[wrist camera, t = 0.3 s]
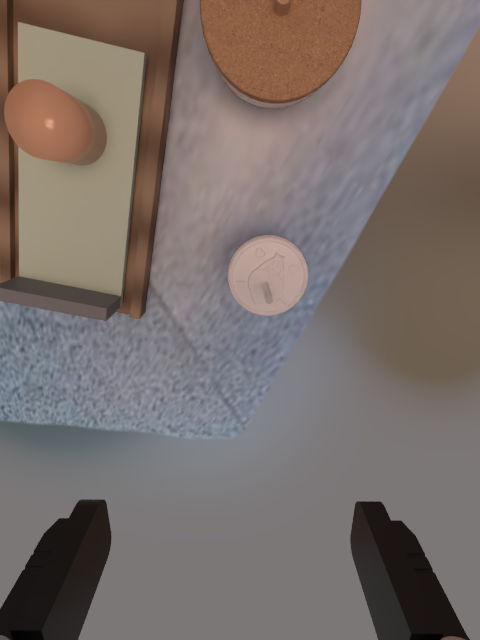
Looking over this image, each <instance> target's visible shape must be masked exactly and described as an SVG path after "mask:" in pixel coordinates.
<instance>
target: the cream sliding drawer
mask: <svg viewBox="0 0 480 640" xmlns="http://www.w3.org/2000/svg"><path fill="white" fill-rule="evenodd" d="M146 62H147V56H146V54H145V53H143V52H139V51H135V50H131V49H127V48H123V47H118V46H114V45H110V44H106V43H102V42H98V41H94V40H90V39H86V38H82V37H78V36H74V35H69V34H65V33H61V32H57V31H53V30H49V29H45V28H41V27H37V26H33V25H29V24H25V23H20V22H18V83H20V82H22V81H24V80H28V79H39V80H43V81H46V82H49V83H51V84H53V85H54V86H56V87H58V88H60V89H61V90H63V91H65V92H66V93H68V94H70V95H72V96H73V97H75V98H77V99H79V100H80V101H82V102H84V103H86V104H87V105H89V106H90V107H92V108H93V109H94V110H95V111H96V112H97V113H98V114H99V116H100V117H101V119H102V121H103V123H104V125H105V129H106V134H107V142H106V147H105V150H104V152H103V154H102V155H101V157H100V158H99V159H98V160H97V161H95V162H94V163H92V164H89V165H74V164H68V163H62V162H56V161H50V160H44V159H39V158H36V157H33V156H31V155H29V154H28V153H26V152H25V151H23V150H22V149H21V148H20V147H19V146H18V166H19V276H18V277H16V278H13V279H10V280H8V281H5V282H2V283H0V301H4V302H10V303H15V304H20V305H25V306H31V307H36V308H41V309H46V310H52V311H57V312H62V313H67V314H72V315H78V316H83V317H88V318H93V319H99V320H104V321H106V320H107V319H108V318H109V317H110V316H111V315H112V314H113V313H115V312H116V311H117V310H118V309H119V308H120V307H121V306H122V304H123V294H124V284H125V274H126V264H127V254H128V243H129V233H130V223H131V213H132V203H133V193H134V183H135V173H136V163H137V153H138V143H139V133H140V123H141V113H142V103H143V93H144V83H145V72H146Z"/></svg>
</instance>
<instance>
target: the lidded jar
mask: <svg viewBox="0 0 480 640" xmlns="http://www.w3.org/2000/svg"><path fill="white" fill-rule="evenodd" d="M200 10H201V22H202V28H203V34H204V38H205V41H206V44H207V47H208V51H209V53H210V55H211V57H212V60H213V62H214V64H215V66H216V68H217V71H218V72H219V74H220V75H221V77H222V79H223V80H224V82H225V83H226V84H227V85H228V87H229V88H230V89H231V90H232V91H233V92H234V93H235V94H236V95H238V96H239V97H240V98H241V99H243V100H245V101H247V102H248V103H250V104H253V105H256V106H258V107H263V108H283V107H288V106H291V105H294V104H296V103H299V102H301V101H302V100H304V99H306V98H307V97H309V96H311V95H312V94H313V93H314V92H316V91H317V90H318V89H319V88H320V87H321V86H322V85H324V84H325V83H326V82H327V81H328V80H329V79H330V78H331V77H332V76H333V74H334V73H335V72H336V71H337V70H338V68H339V67H340V65H341V64H342V62H343V61H344V59H345V58H346V56H347V54H348V52H349V50H350V48H351V46H352V43H353V40H354V38H355V35H356V32H357V28H358V23H359V19H360V11H361V0H200Z"/></svg>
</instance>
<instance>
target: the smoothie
mask: <svg viewBox="0 0 480 640" xmlns="http://www.w3.org/2000/svg"><path fill="white" fill-rule="evenodd" d="M228 282H229V287H230V291H231V293H232V295H233V297H234V298H235V300H236V301H237V302H238V304H240V305H241V306H242V307H243V308H244V309H246V310H247V311H249V312H251V313H254V314H257V315H264V316H271V315H277V314H280V313H283V312H285V311H287V310H289V309H290V308H292V307H293V306H294V305H295V304H296V303H297V302H298V301H299V300H300V299H301V297H302V296H303V294H304V292H305V289H306V287H307V282H308V268H307V264H306V261H305V259H304V257H303V255H302V253H301V252H300V250H299V249H298V248H297V247H296V246H295V245H294V244H293V243H291V242H290V241H288V240H287V239H285V238H282V237H279V236H275V235H263V236H258V237H254V238H252V239H250V240H248V241H246V242H245V243H244V244H243V245H241V246H240V247H239V248H238V249H237V250H236V252H235V254H234V255H233V257H232V258H231V261H230V264H229V267H228Z"/></svg>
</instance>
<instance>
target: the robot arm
mask: <svg viewBox="0 0 480 640" xmlns="http://www.w3.org/2000/svg"><path fill="white" fill-rule="evenodd" d="M110 546H111V530H110V523H109V517H108V511H107V504H106V501H105V500H79V502H78V503H77V504H76V506H75V508H74V510H73V512H72V513H71V515H70V517H69V518H67V519H64V518H62V519H58V520H57V521H56V522H55V523H54V524H53V525H52V526H51V527H50V528H49V529H48V530H47V531H46V532H45V533H44V535H43V537H42V538H41V540H40V542H39V543H38V545H37V547H36V549H35V550H34V554H33V555H31V557H30V559H29V561H28V562H27V564H26V566H25V570H23V571H22V573H21V574H20V576H19V578H18V580H17V581H16V583H15V585H14V587H13V588H12V590H11V592H10V594H9V595H8V597H7V599H6V600H5V602H4V604H3V606H2V607H1V609H0V640H78V638H79V635H80V632H81V629H82V627H83V624H84V621H85V619H86V616H87V613H88V610H89V608H90V605H91V602H92V599H93V597H94V594H95V591H96V589H97V586H98V583H99V580H100V577H101V575H102V572H103V569H104V566H105V564H106V561H107V558H108V555H109V551H110ZM351 550H352V556H353V559H354V562H355V566H356V569H357V572H358V576H359V579H360V582H361V585H362V589H363V592H364V595H365V598H366V601H367V605H368V608H369V611H370V614H371V617H372V621H373V624H374V627H375V630H376V633H377V637H378V640H470V639H469V638H468V636H467V635H466V633H465V631H464V629H463V627H462V626H461V623H460V622H459V620H458V618H457V616H456V614H455V612H454V610H453V608H452V606H451V604H450V602H449V600H448V598H447V596H446V594H445V593H444V590H443V588H442V587H441V585H440V583H439V581H438V579H437V577H436V575H435V573H433V570H432V567H431V565H430V563H429V561H428V559H427V558H426V557H425V553H424V552H423V550H422V548H421V546H420V544H419V542H418V540H417V538H416V536H415V535H414V534H413V533H412V532H411V531H410V530H409V529H408V528H407V526H406V525H405V524H404V523H403V522H402V521H391V520H390V518H389V515H388V513H387V511H386V509H385V507H384V505H383V504H382V503H381V502H356V504H355V510H354V517H353V523H352V530H351Z"/></svg>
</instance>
